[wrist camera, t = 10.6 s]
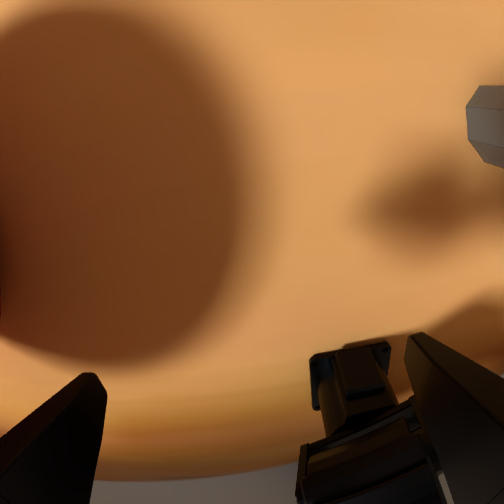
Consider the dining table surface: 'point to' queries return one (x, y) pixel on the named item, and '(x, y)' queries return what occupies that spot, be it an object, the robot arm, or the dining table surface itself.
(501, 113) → the grey cup
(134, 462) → the dining table surface
